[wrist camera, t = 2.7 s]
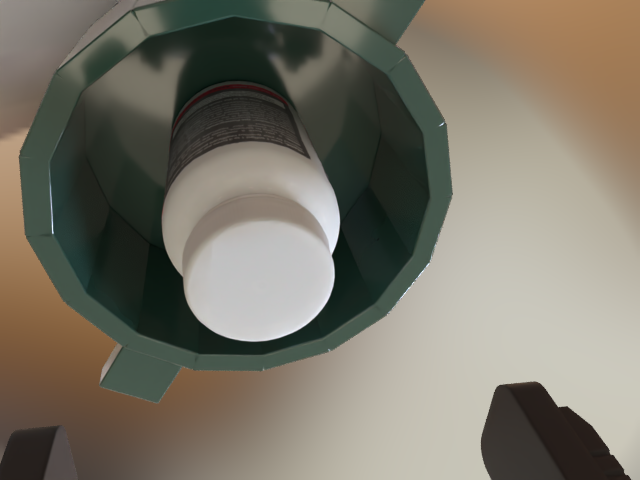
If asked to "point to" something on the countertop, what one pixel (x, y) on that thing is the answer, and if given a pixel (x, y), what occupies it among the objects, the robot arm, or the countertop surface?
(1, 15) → the countertop surface
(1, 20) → the countertop surface
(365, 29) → the pot
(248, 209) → the pill bottle
